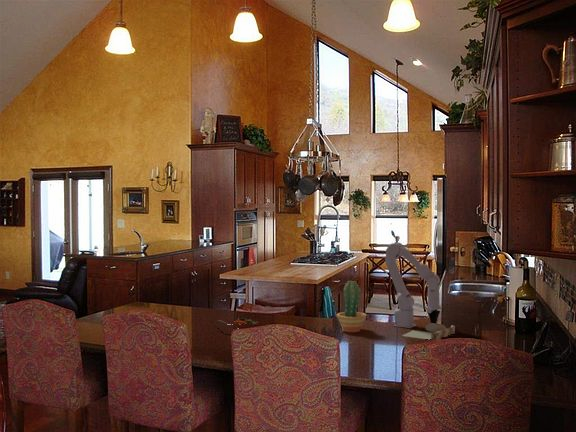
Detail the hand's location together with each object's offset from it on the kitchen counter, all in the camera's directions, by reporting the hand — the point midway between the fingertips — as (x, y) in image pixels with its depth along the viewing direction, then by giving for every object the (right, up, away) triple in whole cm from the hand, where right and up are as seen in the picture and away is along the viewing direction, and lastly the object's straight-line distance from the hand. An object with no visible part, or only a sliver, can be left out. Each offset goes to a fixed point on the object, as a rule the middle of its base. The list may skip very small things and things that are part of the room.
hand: (433, 324), depth 273 cm
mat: (-10, -2, -14) cm, 17 cm away
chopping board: (-100, -4, +15) cm, 101 cm away
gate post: (+5, -2, -14) cm, 15 cm away
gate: (-2, -2, -21) cm, 21 cm away
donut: (0, 0, -2) cm, 2 cm away
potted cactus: (-42, -3, -1) cm, 42 cm away
